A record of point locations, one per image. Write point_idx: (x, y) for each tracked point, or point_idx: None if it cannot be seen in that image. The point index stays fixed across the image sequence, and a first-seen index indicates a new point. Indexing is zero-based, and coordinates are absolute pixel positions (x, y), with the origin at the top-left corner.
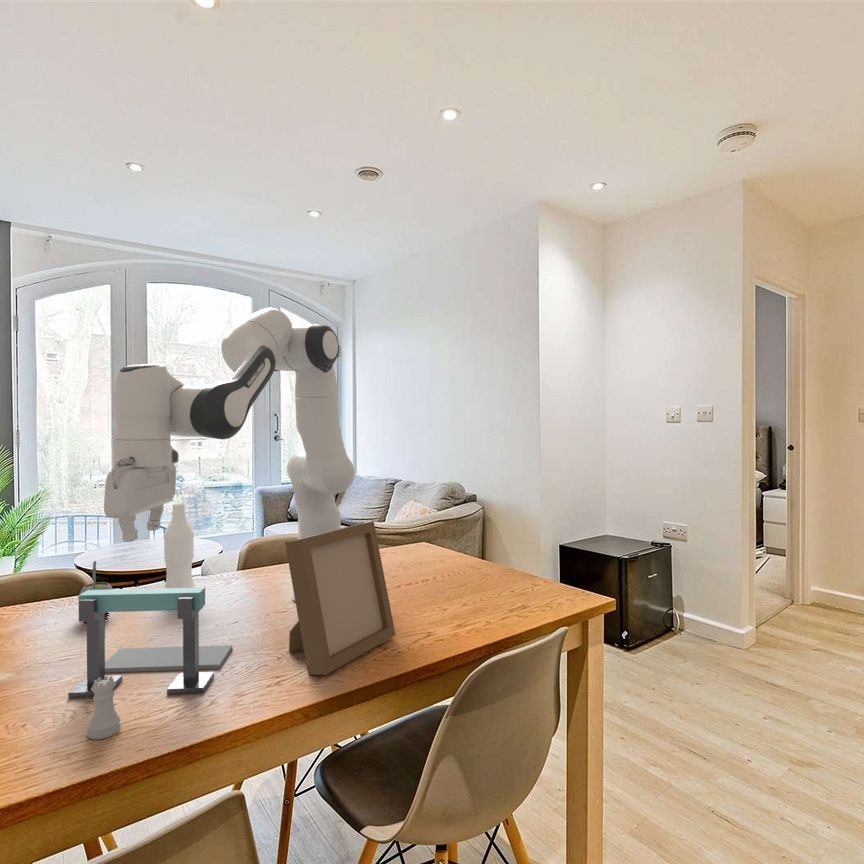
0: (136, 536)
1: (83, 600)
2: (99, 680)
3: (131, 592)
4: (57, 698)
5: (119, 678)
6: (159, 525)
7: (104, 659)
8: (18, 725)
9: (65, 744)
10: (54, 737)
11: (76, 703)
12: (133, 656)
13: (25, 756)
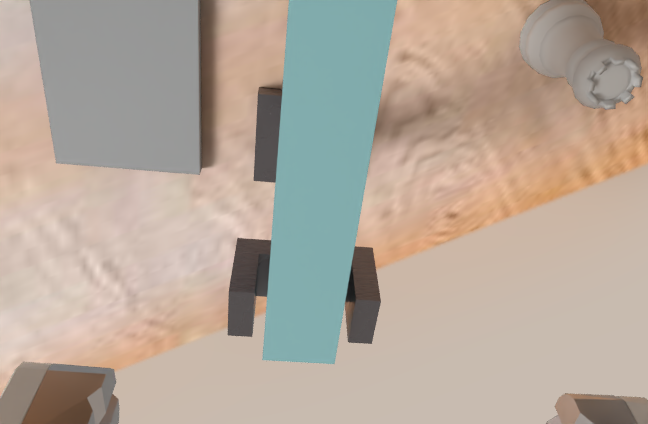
0: (603, 416)
1: (367, 332)
2: (597, 97)
3: (334, 196)
4: None
5: (276, 94)
6: (32, 388)
7: None
8: (448, 225)
9: (575, 101)
10: (532, 136)
11: (374, 153)
12: (116, 106)
13: (591, 160)
